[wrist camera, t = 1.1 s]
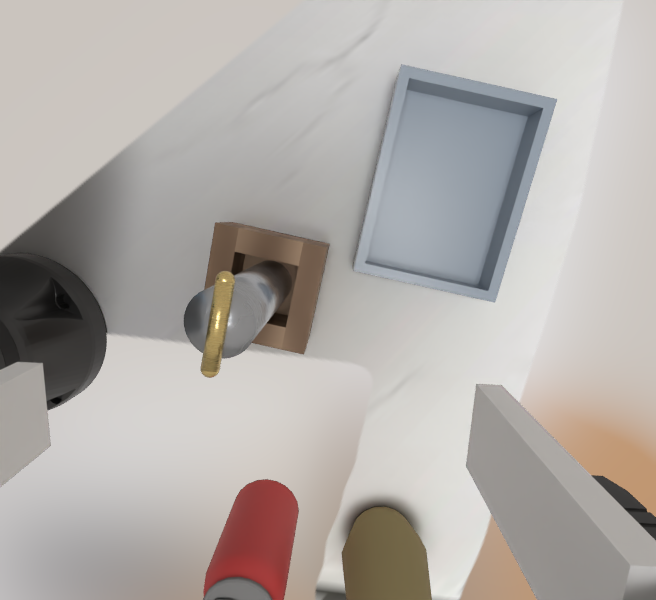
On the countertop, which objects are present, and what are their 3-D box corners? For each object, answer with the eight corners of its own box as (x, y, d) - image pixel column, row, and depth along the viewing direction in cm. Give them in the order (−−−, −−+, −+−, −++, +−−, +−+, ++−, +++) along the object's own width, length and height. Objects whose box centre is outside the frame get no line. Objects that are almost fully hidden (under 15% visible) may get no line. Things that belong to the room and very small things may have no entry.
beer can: (246, 467, 42) (208, 562, 31) (308, 488, 42) (293, 592, 31) (228, 520, 44) (184, 631, 32) (287, 540, 44) (265, 659, 32)
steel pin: (242, 309, 38) (169, 372, 22) (253, 245, 37) (186, 263, 21) (284, 319, 38) (241, 388, 22) (298, 255, 37) (262, 280, 21)
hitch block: (216, 316, 39) (197, 330, 34) (232, 222, 38) (215, 222, 33) (309, 337, 39) (303, 354, 34) (329, 243, 38) (326, 247, 33)
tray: (352, 266, 38) (353, 270, 34) (396, 79, 35) (401, 64, 31) (481, 294, 38) (495, 302, 34) (536, 110, 35) (557, 99, 31)
